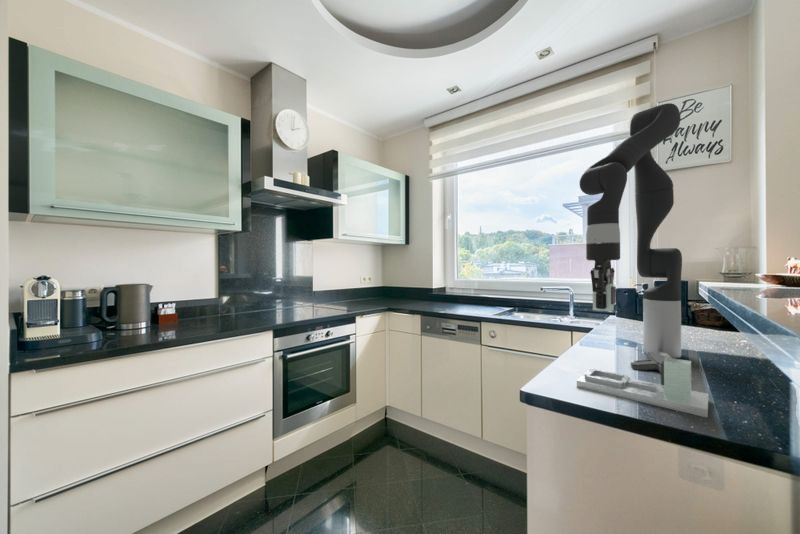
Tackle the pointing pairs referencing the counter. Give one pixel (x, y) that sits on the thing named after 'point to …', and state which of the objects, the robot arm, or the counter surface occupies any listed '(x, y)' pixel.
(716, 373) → the counter surface
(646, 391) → the rail
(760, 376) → the counter surface
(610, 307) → the pale grey upright block
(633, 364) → the dark grey bracket
